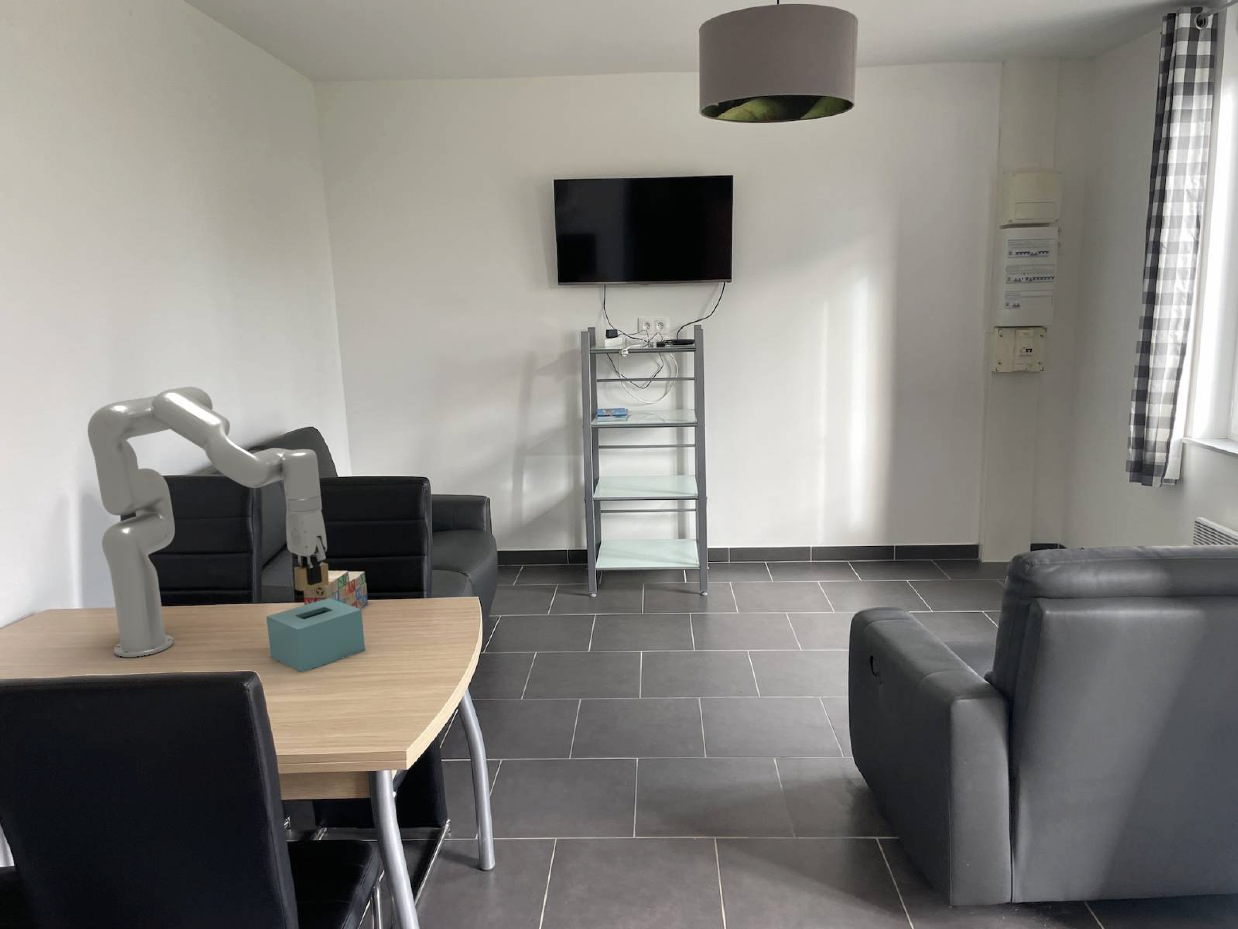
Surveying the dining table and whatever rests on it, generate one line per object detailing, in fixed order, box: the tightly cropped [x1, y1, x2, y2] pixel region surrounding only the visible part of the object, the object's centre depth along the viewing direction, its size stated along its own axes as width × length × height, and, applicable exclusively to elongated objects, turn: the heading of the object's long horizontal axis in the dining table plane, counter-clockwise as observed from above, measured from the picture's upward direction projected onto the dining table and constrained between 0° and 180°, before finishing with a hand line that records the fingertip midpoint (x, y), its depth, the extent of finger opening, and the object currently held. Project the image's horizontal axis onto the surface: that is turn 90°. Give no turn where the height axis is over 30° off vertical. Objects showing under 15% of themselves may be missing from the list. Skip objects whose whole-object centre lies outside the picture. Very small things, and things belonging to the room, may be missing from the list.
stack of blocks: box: [303, 570, 369, 610], centre depth 231 cm, size 21×6×12 cm, turn 170°
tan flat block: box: [293, 561, 329, 592], centre depth 204 cm, size 2×5×7 cm
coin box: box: [266, 598, 366, 673], centre depth 206 cm, size 14×16×10 cm
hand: (311, 581), depth 204 cm, fingers closed on tan flat block, 2 cm apart
